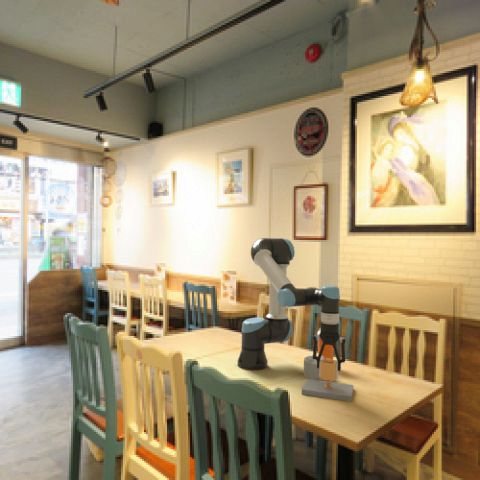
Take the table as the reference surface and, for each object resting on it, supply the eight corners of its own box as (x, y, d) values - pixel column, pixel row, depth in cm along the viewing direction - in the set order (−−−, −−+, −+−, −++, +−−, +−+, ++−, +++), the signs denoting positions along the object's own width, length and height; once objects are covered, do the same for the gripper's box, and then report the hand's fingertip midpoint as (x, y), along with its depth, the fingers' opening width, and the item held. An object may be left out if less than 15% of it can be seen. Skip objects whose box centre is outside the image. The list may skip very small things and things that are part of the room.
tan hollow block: (320, 379, 170) (320, 360, 170) (322, 375, 176) (322, 356, 176) (335, 381, 168) (335, 362, 168) (336, 376, 174) (336, 358, 174)
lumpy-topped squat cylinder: (317, 381, 185) (317, 362, 185) (298, 372, 196) (298, 354, 196) (333, 377, 191) (333, 358, 191) (314, 369, 202) (314, 352, 202)
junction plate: (301, 394, 168) (302, 377, 168) (307, 383, 182) (307, 367, 182) (351, 401, 162) (351, 383, 162) (353, 389, 175) (353, 373, 175)
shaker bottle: (334, 370, 202) (335, 329, 202) (316, 368, 203) (317, 328, 203) (334, 364, 210) (335, 326, 210) (316, 363, 212) (317, 325, 212)
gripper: (305, 322, 171) (304, 377, 171) (352, 326, 165) (351, 383, 165) (308, 319, 179) (307, 371, 178) (353, 322, 173) (352, 377, 172)
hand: (328, 377), depth 172 cm, fingers closed on tan hollow block, 6 cm apart
